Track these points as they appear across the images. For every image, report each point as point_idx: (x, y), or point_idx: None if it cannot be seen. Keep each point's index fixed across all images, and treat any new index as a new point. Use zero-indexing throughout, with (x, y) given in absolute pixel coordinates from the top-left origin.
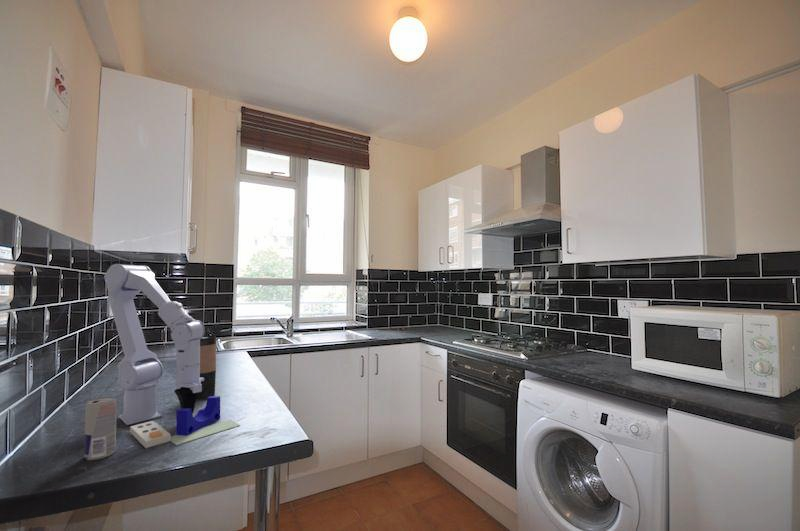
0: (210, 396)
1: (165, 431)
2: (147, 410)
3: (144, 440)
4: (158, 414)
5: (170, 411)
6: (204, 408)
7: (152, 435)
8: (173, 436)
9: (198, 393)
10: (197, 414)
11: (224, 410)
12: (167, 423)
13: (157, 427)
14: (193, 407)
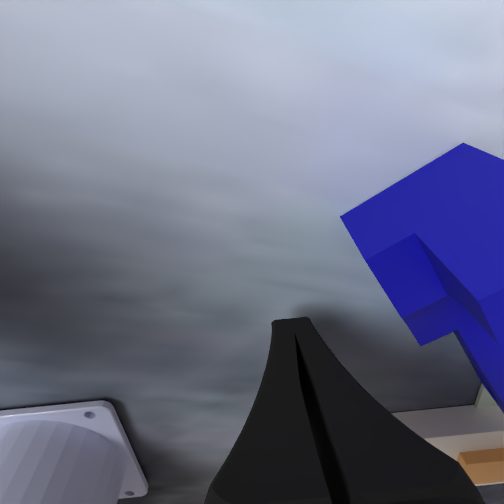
0: (489, 306)
1: (471, 436)
2: (105, 494)
3: (487, 484)
4: (80, 414)
5: (5, 351)
6: (401, 281)
7: (502, 481)
8: (487, 392)
9: (428, 448)
10: (412, 315)
11: (271, 29)
12: (250, 385)
13: None
14: (326, 347)
